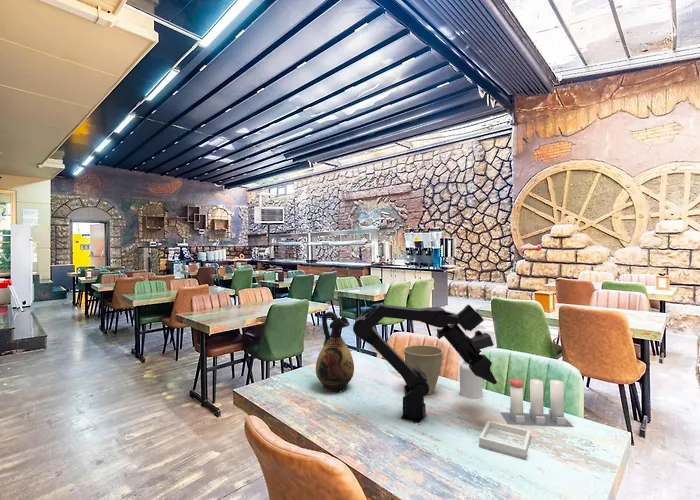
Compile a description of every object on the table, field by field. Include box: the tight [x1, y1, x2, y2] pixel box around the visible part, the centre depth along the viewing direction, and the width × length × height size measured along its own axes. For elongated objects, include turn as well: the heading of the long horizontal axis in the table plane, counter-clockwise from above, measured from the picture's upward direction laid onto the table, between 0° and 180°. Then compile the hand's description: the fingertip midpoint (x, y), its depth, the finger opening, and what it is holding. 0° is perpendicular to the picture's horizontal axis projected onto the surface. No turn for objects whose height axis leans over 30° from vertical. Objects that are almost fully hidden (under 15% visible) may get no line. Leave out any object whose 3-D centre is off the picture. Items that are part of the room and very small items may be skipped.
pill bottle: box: [459, 360, 484, 400], centre depth 130 cm, size 8×8×15 cm
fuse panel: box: [499, 378, 575, 428], centre depth 110 cm, size 19×8×13 cm, turn 83°
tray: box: [478, 420, 532, 460], centre depth 99 cm, size 12×12×2 cm
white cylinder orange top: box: [509, 378, 524, 420], centre depth 111 cm, size 4×4×12 cm
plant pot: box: [403, 344, 444, 396], centre depth 136 cm, size 15×15×16 cm
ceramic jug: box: [315, 311, 355, 393], centre depth 141 cm, size 17×15×30 cm
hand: (491, 378), depth 113 cm, fingers open, 9 cm apart
